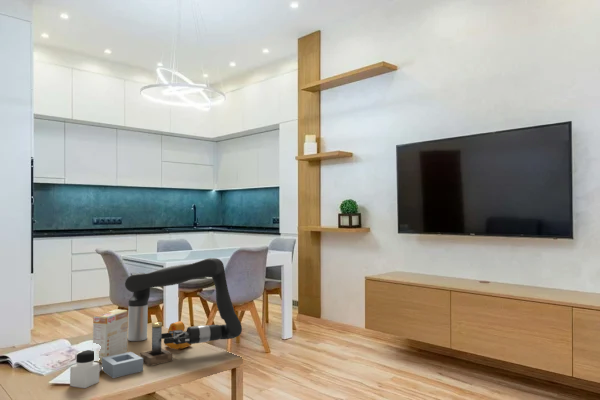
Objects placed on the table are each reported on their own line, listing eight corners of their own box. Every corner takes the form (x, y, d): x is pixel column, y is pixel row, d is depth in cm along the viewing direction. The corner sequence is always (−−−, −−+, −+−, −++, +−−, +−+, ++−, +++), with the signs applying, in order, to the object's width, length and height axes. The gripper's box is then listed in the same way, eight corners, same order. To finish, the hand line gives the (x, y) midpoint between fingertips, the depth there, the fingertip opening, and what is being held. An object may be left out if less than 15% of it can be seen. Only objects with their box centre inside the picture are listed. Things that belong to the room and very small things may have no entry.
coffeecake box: (114, 351, 206) (115, 308, 207) (128, 352, 204) (128, 309, 205) (91, 361, 191) (92, 315, 192) (105, 363, 189) (106, 316, 190)
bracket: (192, 346, 215) (192, 321, 215) (181, 350, 208) (182, 324, 209) (175, 343, 220) (175, 318, 220) (164, 347, 213) (165, 321, 214)
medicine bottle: (99, 382, 168) (100, 349, 168) (84, 388, 161) (85, 355, 162) (84, 379, 170) (85, 347, 171) (69, 386, 164) (70, 353, 164)
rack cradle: (101, 370, 181) (101, 357, 181) (130, 363, 189) (131, 351, 189) (112, 378, 172) (113, 365, 172) (143, 370, 180) (143, 358, 180)
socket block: (140, 359, 194) (140, 353, 194) (161, 355, 201) (161, 348, 201) (150, 365, 186) (150, 358, 187) (172, 360, 193) (172, 353, 193)
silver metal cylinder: (149, 360, 194) (150, 323, 194) (158, 358, 196) (159, 321, 197) (153, 362, 191) (154, 324, 191) (163, 360, 193) (163, 323, 194)
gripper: (194, 322, 209) (158, 326, 201) (203, 329, 197) (165, 333, 189) (194, 338, 209) (158, 343, 201) (202, 346, 196) (165, 351, 189)
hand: (162, 338), depth 195 cm, fingers open, 8 cm apart
